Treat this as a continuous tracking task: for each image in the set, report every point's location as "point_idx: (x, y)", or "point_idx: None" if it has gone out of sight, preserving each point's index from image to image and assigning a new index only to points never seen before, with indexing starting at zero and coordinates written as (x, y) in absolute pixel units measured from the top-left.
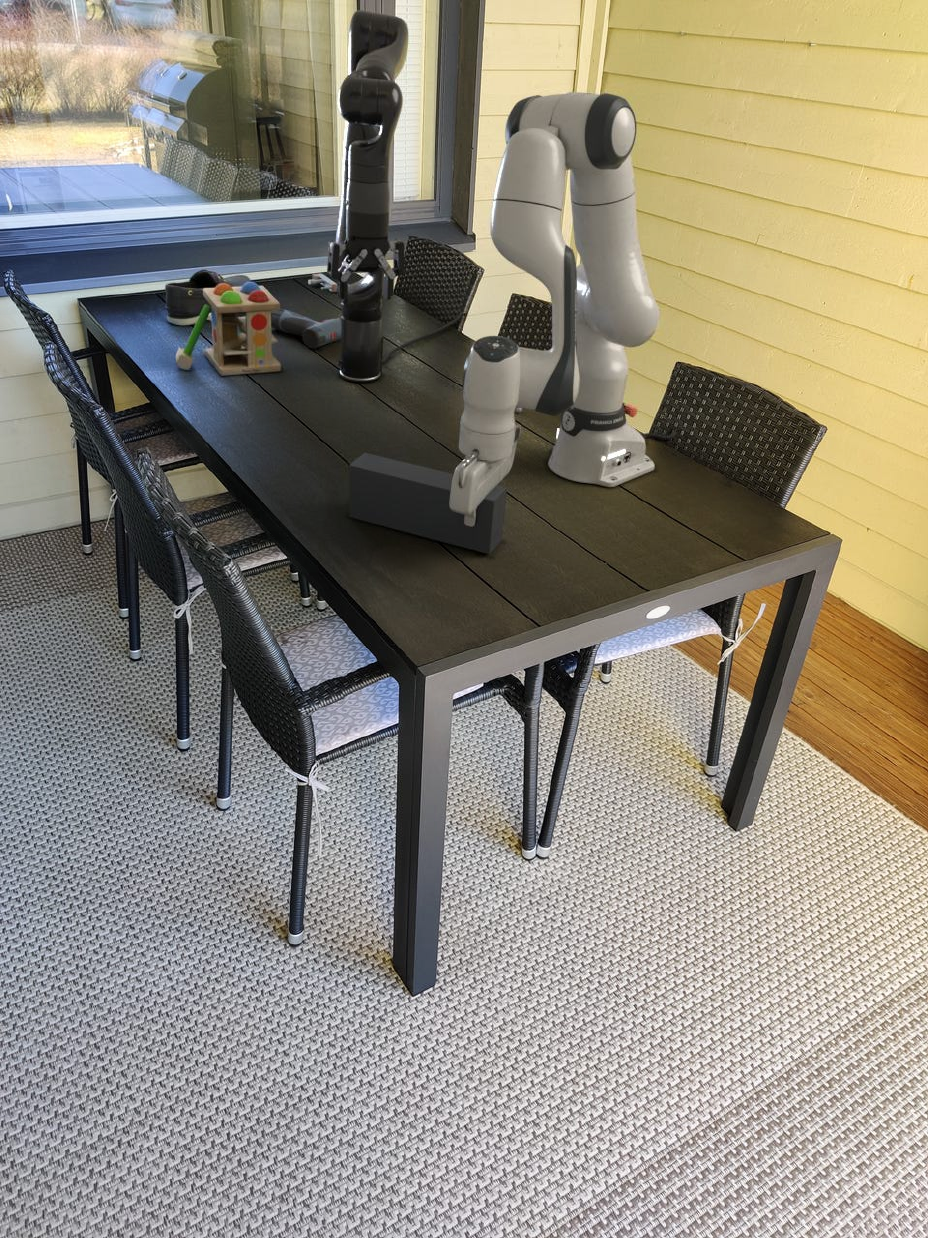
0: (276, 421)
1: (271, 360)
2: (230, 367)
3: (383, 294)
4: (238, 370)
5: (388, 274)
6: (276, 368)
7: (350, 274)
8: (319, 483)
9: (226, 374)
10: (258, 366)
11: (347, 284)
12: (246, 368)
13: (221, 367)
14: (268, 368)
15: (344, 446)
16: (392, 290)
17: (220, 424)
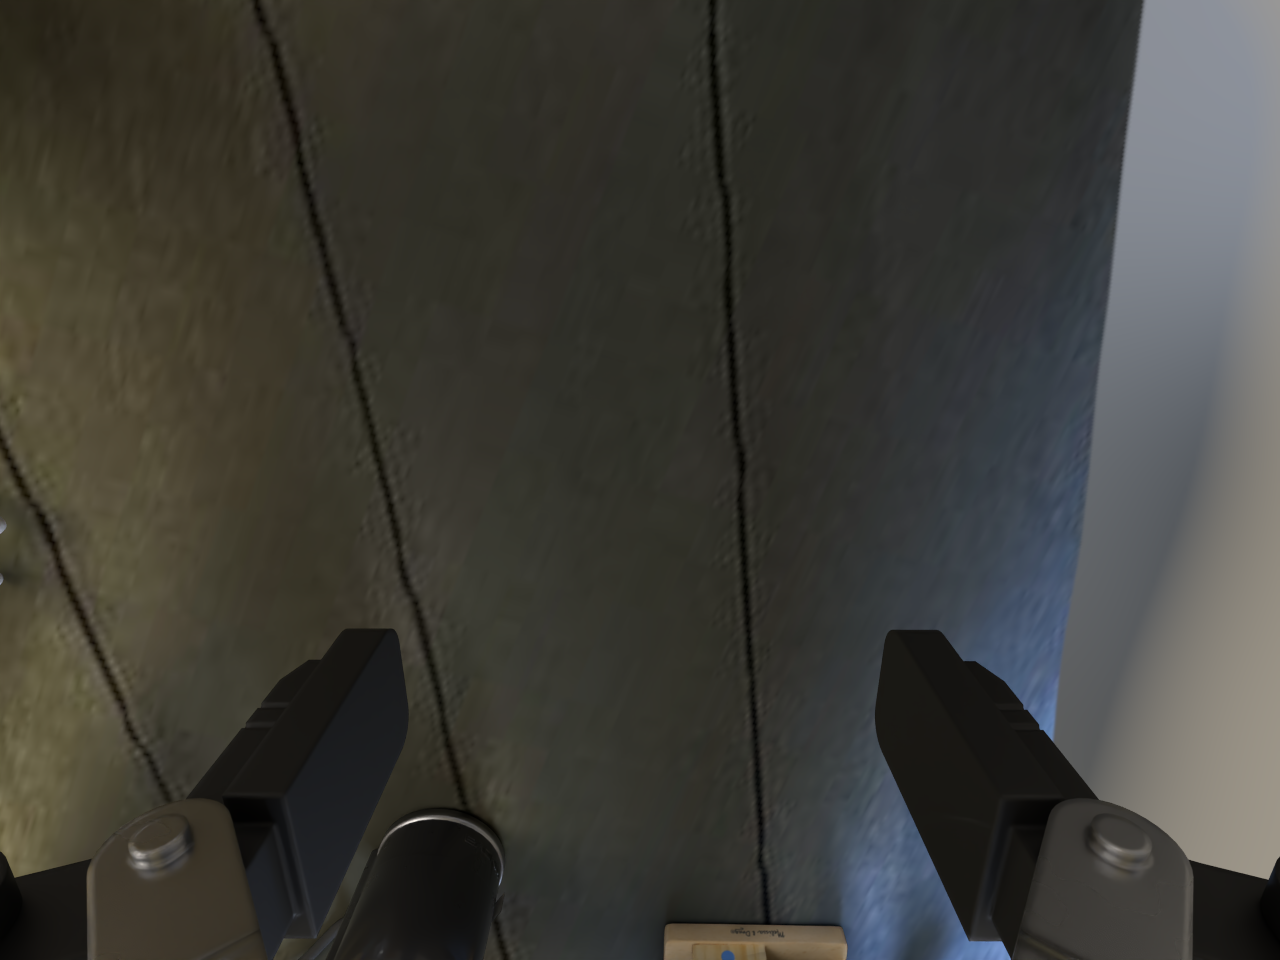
0: (818, 628)
1: (695, 958)
2: (816, 950)
3: (398, 731)
4: (795, 935)
5: (229, 870)
6: (680, 931)
7: (1030, 902)
8: (893, 132)
9: (828, 927)
10: (735, 942)
11: (994, 765)
12: (771, 939)
13: (840, 954)
14: (704, 933)
15: (685, 397)
16: (277, 704)
17: (986, 648)
